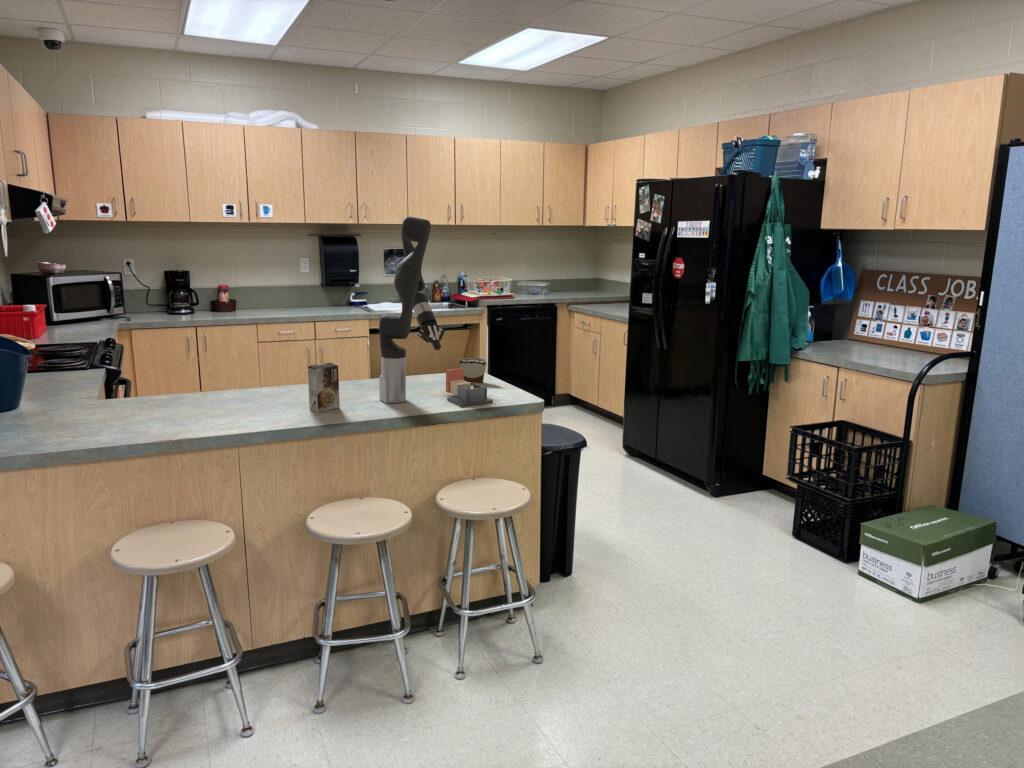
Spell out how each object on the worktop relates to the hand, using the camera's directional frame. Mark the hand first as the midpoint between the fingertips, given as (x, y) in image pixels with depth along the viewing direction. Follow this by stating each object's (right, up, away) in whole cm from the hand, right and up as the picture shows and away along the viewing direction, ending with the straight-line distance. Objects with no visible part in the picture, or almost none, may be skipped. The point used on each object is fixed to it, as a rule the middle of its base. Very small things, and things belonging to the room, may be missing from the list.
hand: (438, 349), depth 291 cm
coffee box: (-38, -23, -33) cm, 55 cm away
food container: (+13, -13, +17) cm, 25 cm away
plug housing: (+14, -21, -17) cm, 31 cm away
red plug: (+9, -18, -11) cm, 23 cm away
